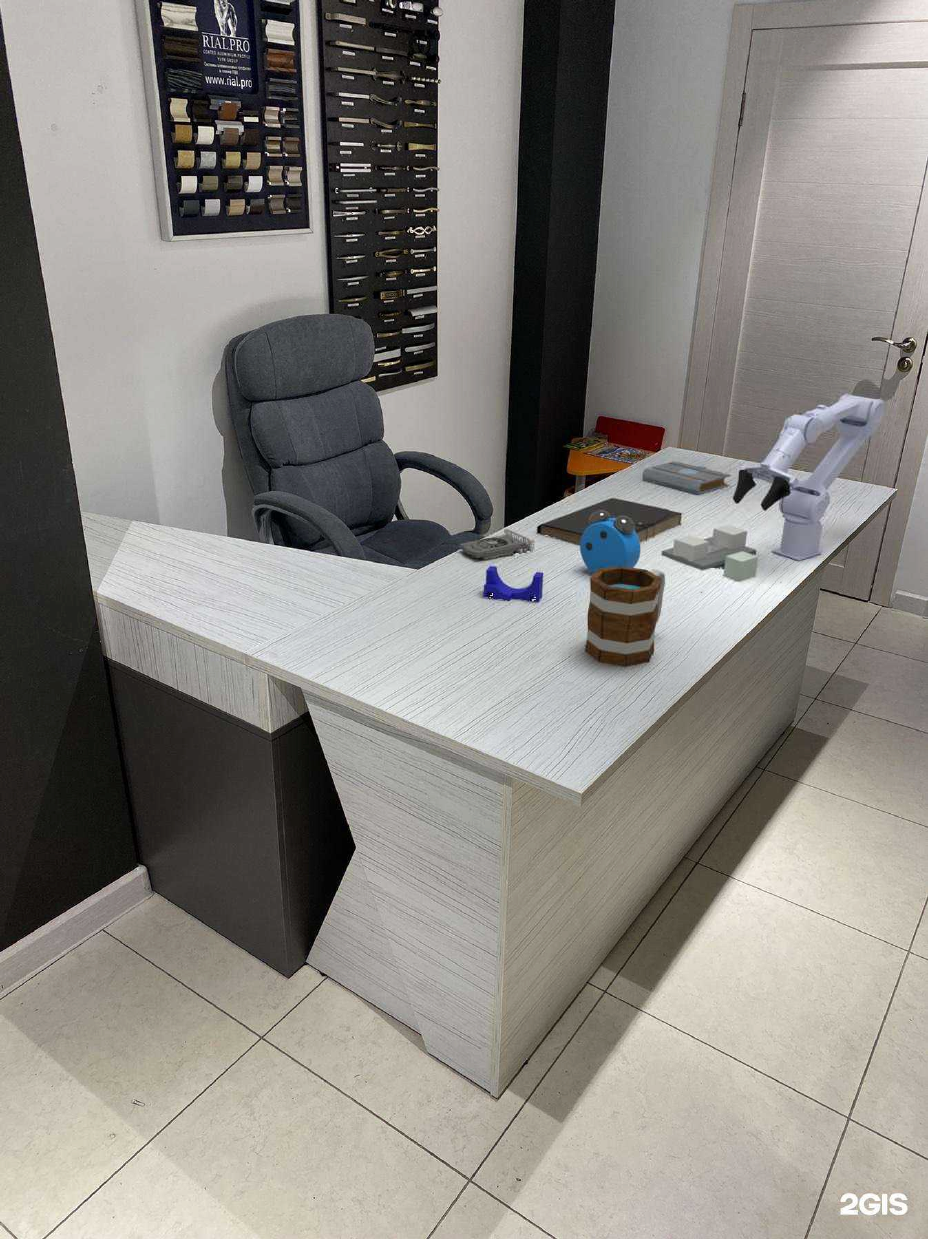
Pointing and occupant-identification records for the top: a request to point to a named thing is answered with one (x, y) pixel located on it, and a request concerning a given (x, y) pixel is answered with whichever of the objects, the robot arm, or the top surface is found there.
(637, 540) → the alarm clock
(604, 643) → the mug
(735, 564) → the block
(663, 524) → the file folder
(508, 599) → the blue cradle bracket
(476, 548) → the graphics card
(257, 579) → the top surface
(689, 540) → the mounted modules
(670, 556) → the rail board
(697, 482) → the book
